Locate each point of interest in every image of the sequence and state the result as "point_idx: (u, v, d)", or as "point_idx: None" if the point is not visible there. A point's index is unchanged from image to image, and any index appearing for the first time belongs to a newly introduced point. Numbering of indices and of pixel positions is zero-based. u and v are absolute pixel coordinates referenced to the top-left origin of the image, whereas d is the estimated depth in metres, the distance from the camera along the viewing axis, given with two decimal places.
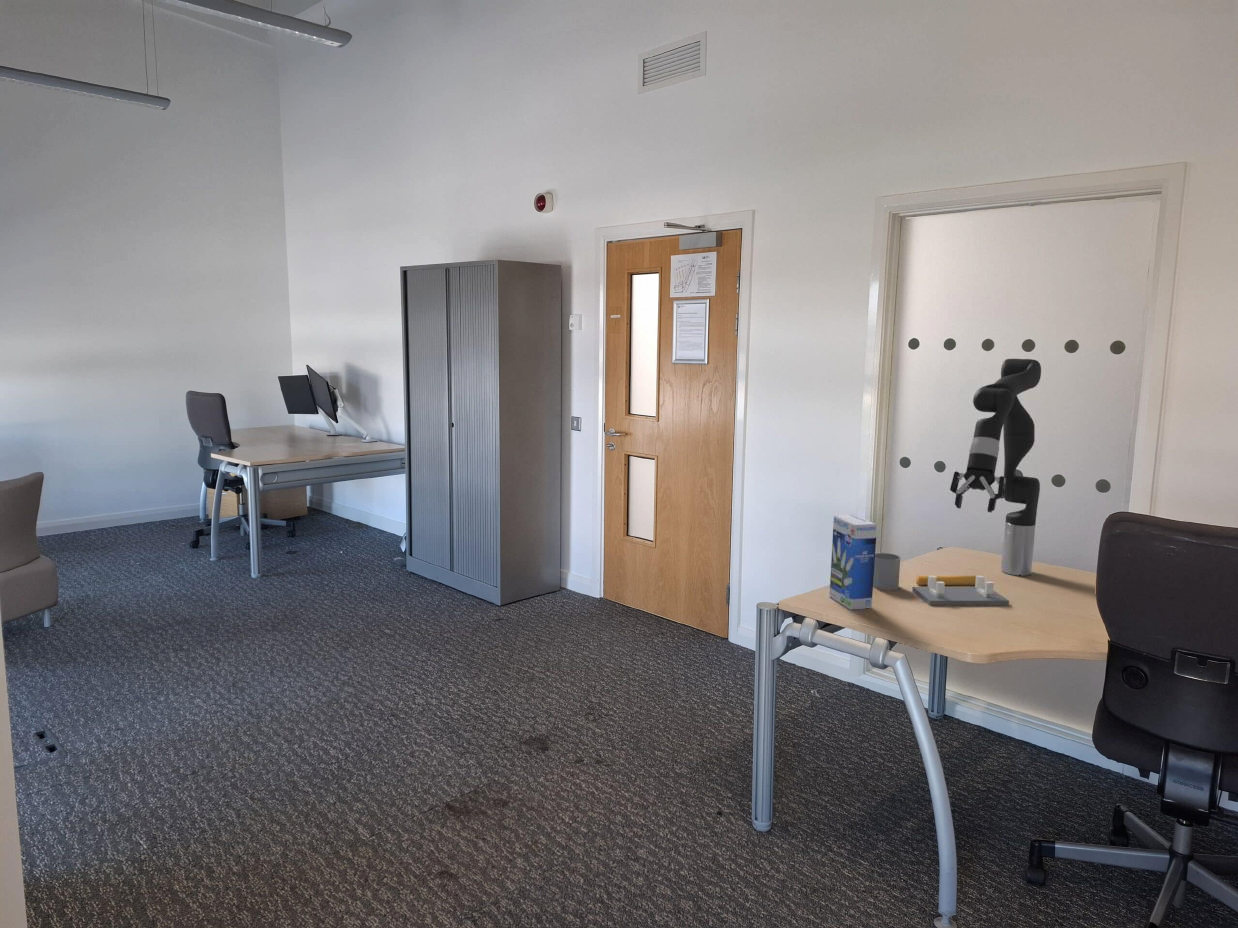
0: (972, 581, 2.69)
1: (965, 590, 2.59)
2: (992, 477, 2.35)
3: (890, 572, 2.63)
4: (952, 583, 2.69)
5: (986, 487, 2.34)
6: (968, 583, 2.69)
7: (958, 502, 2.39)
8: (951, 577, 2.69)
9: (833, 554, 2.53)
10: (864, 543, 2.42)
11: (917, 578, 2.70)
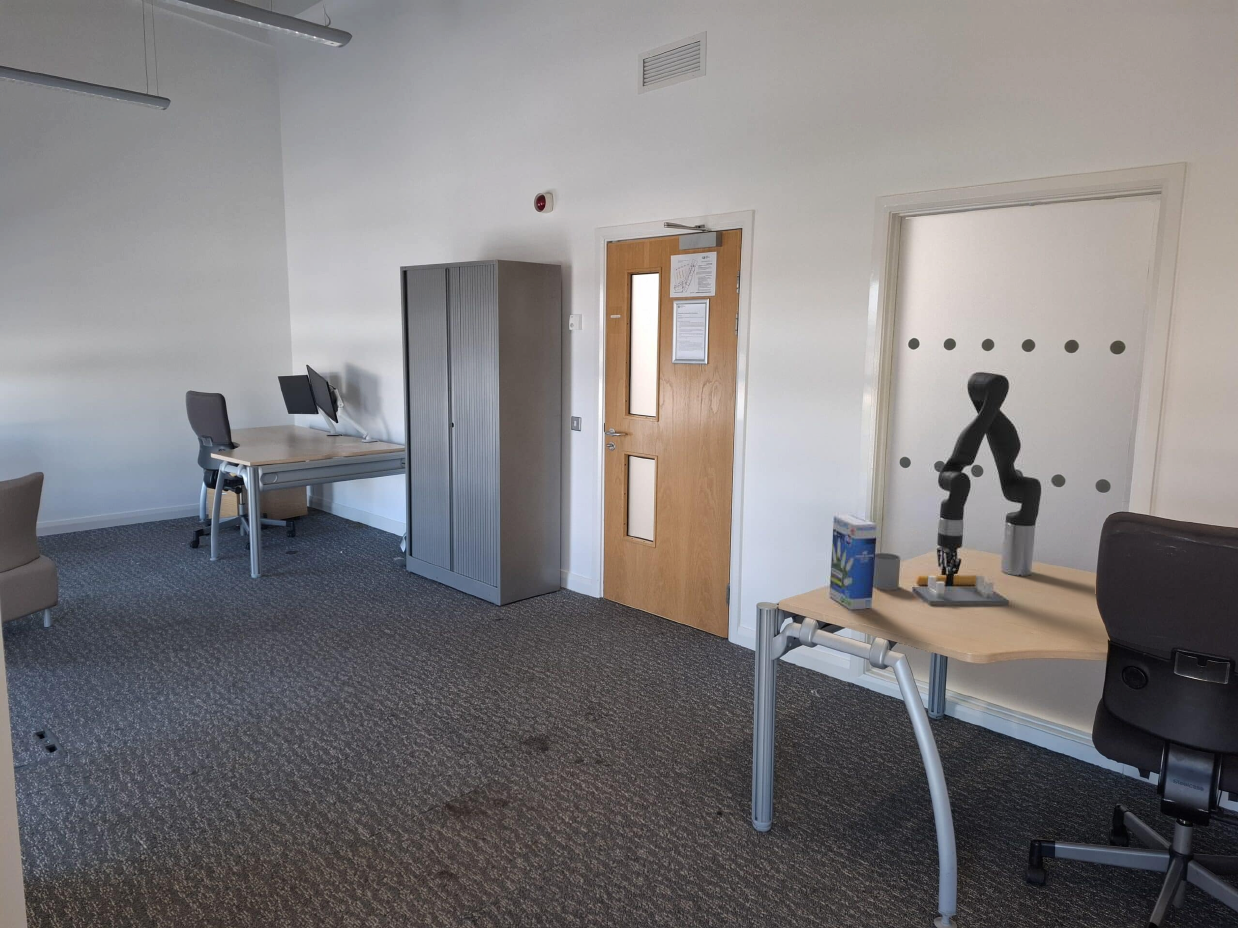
0: (973, 581, 2.68)
1: (965, 590, 2.59)
2: (950, 555, 2.65)
3: (890, 572, 2.62)
4: None
5: (945, 563, 2.67)
6: (968, 583, 2.69)
7: None
8: None
9: (833, 554, 2.53)
10: (864, 543, 2.42)
11: (917, 578, 2.70)
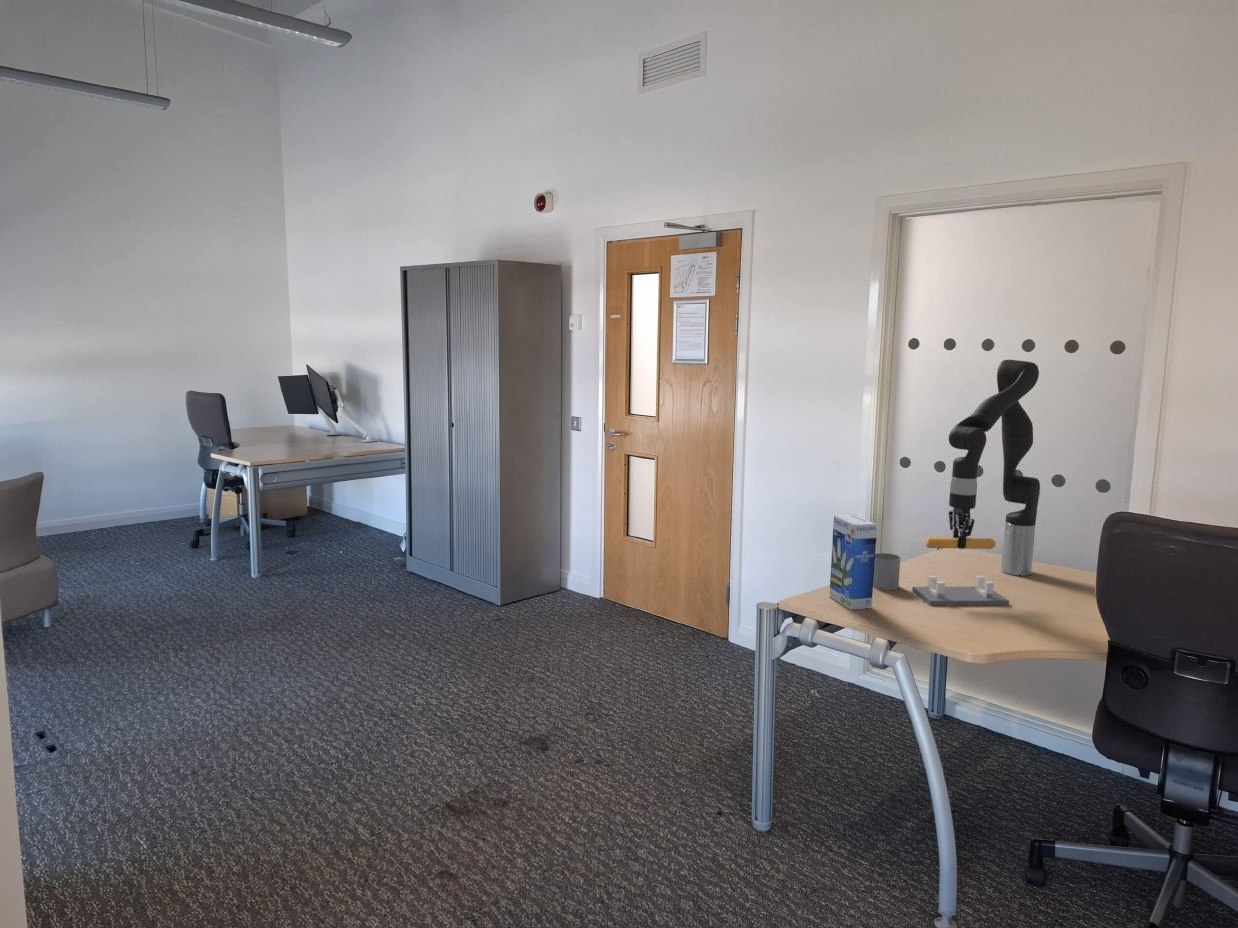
0: (986, 544, 2.54)
1: (965, 590, 2.59)
2: (963, 516, 2.51)
3: (890, 572, 2.63)
4: None
5: (957, 525, 2.53)
6: (981, 546, 2.54)
7: None
8: None
9: (833, 554, 2.53)
10: (864, 543, 2.42)
11: (927, 540, 2.56)
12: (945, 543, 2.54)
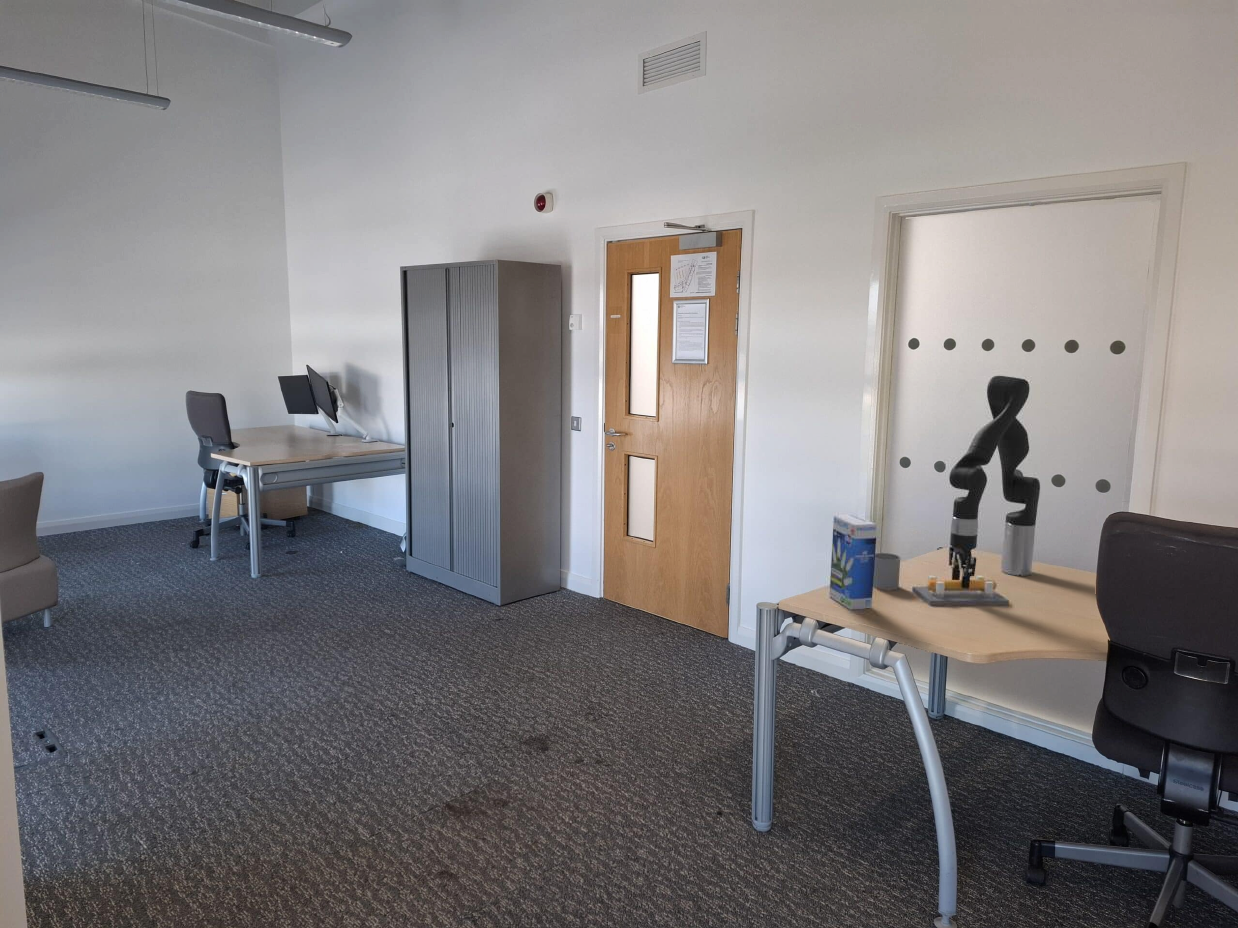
0: None
1: None
2: (964, 555, 2.50)
3: (890, 572, 2.63)
4: (965, 588, 2.54)
5: (959, 565, 2.52)
6: (982, 588, 2.54)
7: (952, 577, 2.59)
8: None
9: (833, 554, 2.53)
10: (864, 543, 2.42)
11: (928, 583, 2.56)
12: (946, 586, 2.54)
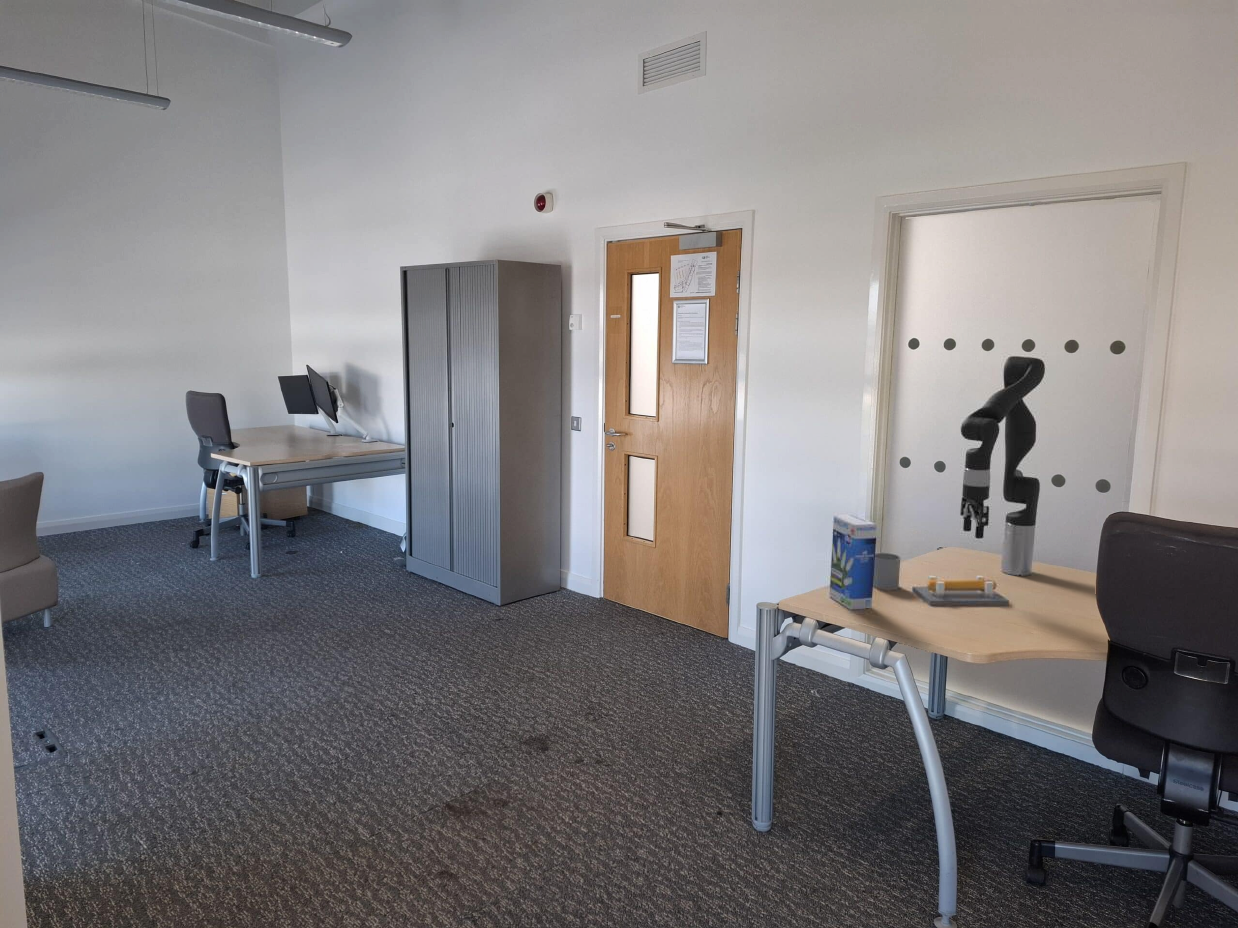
0: None
1: None
2: (977, 506, 2.50)
3: (890, 572, 2.63)
4: (965, 588, 2.54)
5: (972, 515, 2.52)
6: (982, 588, 2.54)
7: (963, 526, 2.60)
8: (964, 581, 2.55)
9: (833, 554, 2.53)
10: (864, 543, 2.42)
11: (928, 583, 2.56)
12: (946, 586, 2.54)
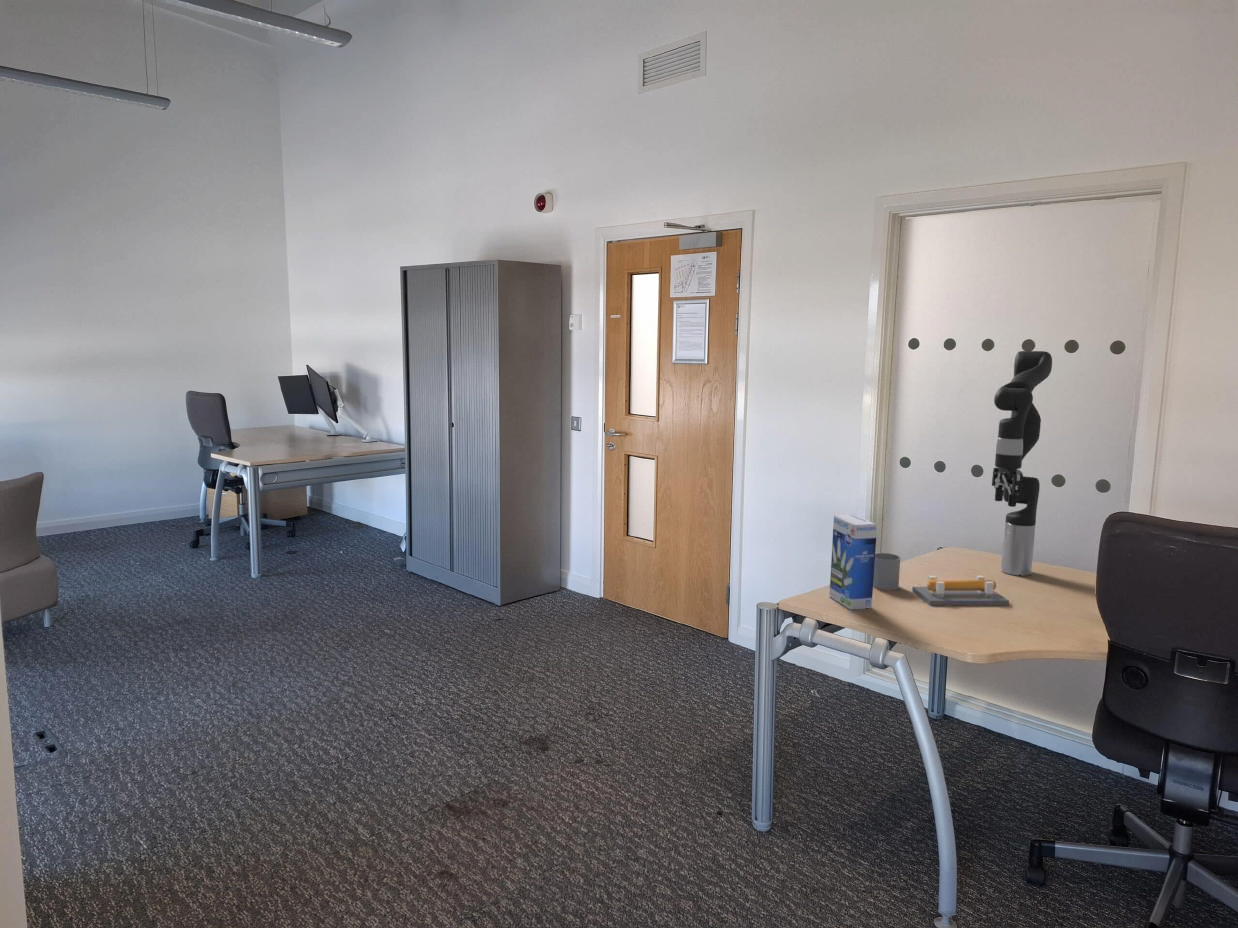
0: None
1: (965, 590, 2.59)
2: (1010, 475, 2.55)
3: (890, 572, 2.63)
4: (965, 588, 2.54)
5: (1005, 484, 2.56)
6: (982, 588, 2.54)
7: (995, 496, 2.64)
8: (964, 581, 2.55)
9: (833, 554, 2.53)
10: (864, 543, 2.42)
11: (928, 583, 2.56)
12: (946, 586, 2.54)
